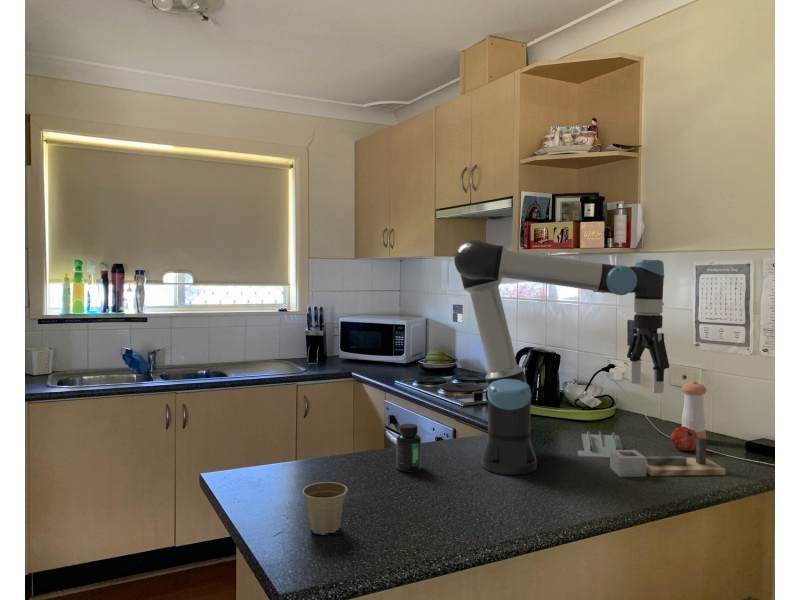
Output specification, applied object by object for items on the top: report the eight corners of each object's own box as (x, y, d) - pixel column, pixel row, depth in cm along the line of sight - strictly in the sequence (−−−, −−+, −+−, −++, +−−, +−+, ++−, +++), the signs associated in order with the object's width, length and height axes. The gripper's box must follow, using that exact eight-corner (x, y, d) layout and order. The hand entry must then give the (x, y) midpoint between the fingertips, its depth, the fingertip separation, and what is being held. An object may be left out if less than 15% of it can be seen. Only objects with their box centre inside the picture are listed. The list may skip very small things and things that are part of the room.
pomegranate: (666, 454, 181) (676, 442, 173) (665, 432, 185) (675, 419, 177) (692, 458, 180) (703, 446, 172) (690, 436, 184) (701, 423, 176)
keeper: (651, 475, 156) (651, 444, 156) (635, 463, 166) (635, 433, 166) (725, 474, 156) (726, 443, 156) (705, 462, 166) (705, 433, 166)
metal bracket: (574, 427, 184) (625, 429, 181) (574, 443, 186) (624, 445, 183) (579, 453, 171) (633, 456, 168) (578, 470, 173) (632, 473, 170)
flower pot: (349, 519, 129) (348, 481, 129) (346, 539, 120) (346, 497, 119) (306, 520, 129) (305, 482, 128) (300, 540, 120) (299, 498, 119)
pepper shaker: (675, 438, 190) (676, 379, 189) (691, 435, 193) (692, 378, 192) (695, 444, 184) (696, 383, 183) (710, 441, 187) (712, 381, 186)
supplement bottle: (421, 472, 159) (421, 429, 159) (396, 472, 159) (396, 429, 159) (420, 464, 166) (420, 422, 166) (396, 464, 166) (396, 422, 166)
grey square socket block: (619, 476, 155) (620, 458, 155) (610, 468, 162) (610, 450, 162) (646, 476, 155) (646, 457, 155) (635, 467, 162) (635, 449, 162)
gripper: (684, 317, 155) (682, 397, 156) (640, 310, 180) (638, 379, 181) (657, 317, 155) (654, 397, 156) (616, 310, 180) (614, 379, 181)
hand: (646, 387), depth 169 cm, fingers open, 13 cm apart
